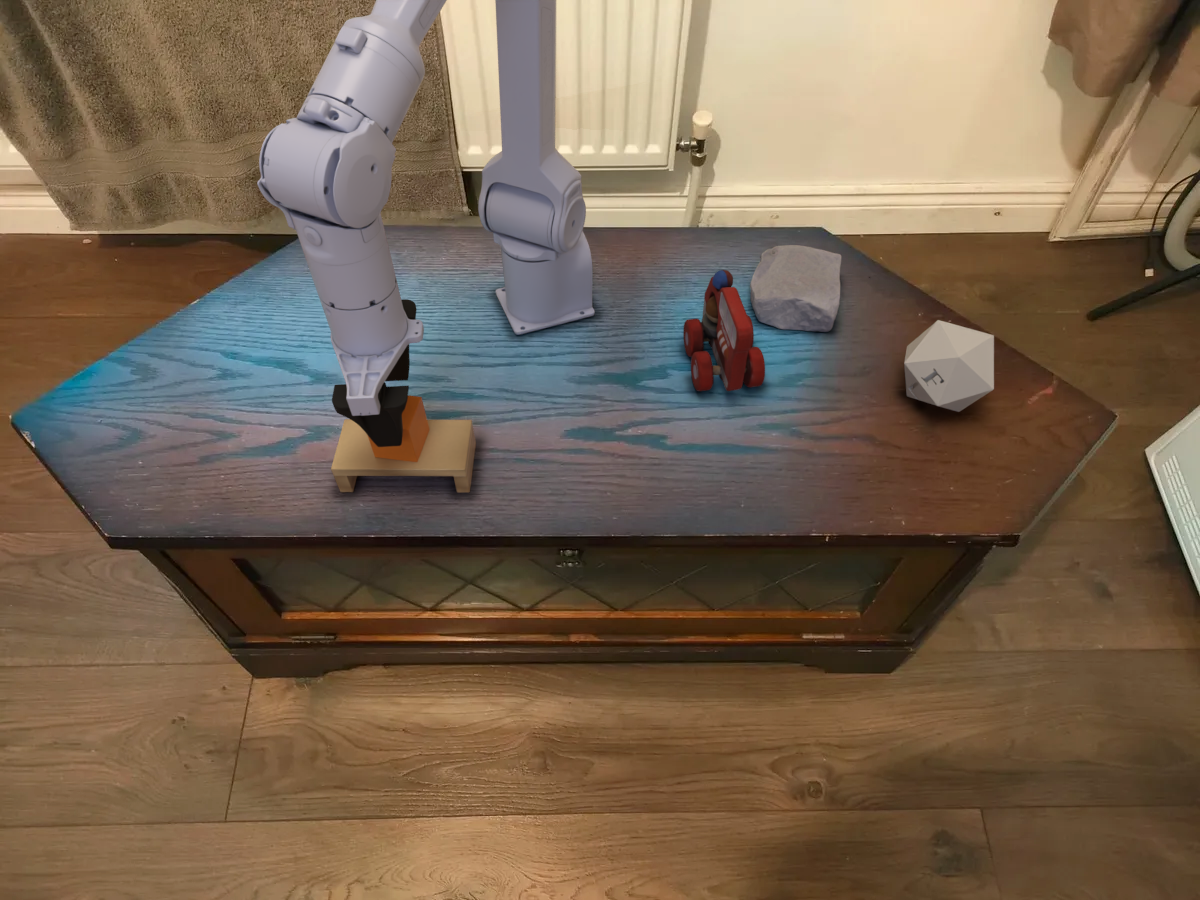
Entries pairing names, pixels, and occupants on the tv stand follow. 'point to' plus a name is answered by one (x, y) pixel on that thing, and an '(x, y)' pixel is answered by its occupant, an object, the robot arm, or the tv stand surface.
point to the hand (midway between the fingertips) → (393, 409)
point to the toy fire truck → (723, 339)
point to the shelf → (440, 456)
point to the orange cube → (408, 434)
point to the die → (950, 366)
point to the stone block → (797, 288)
